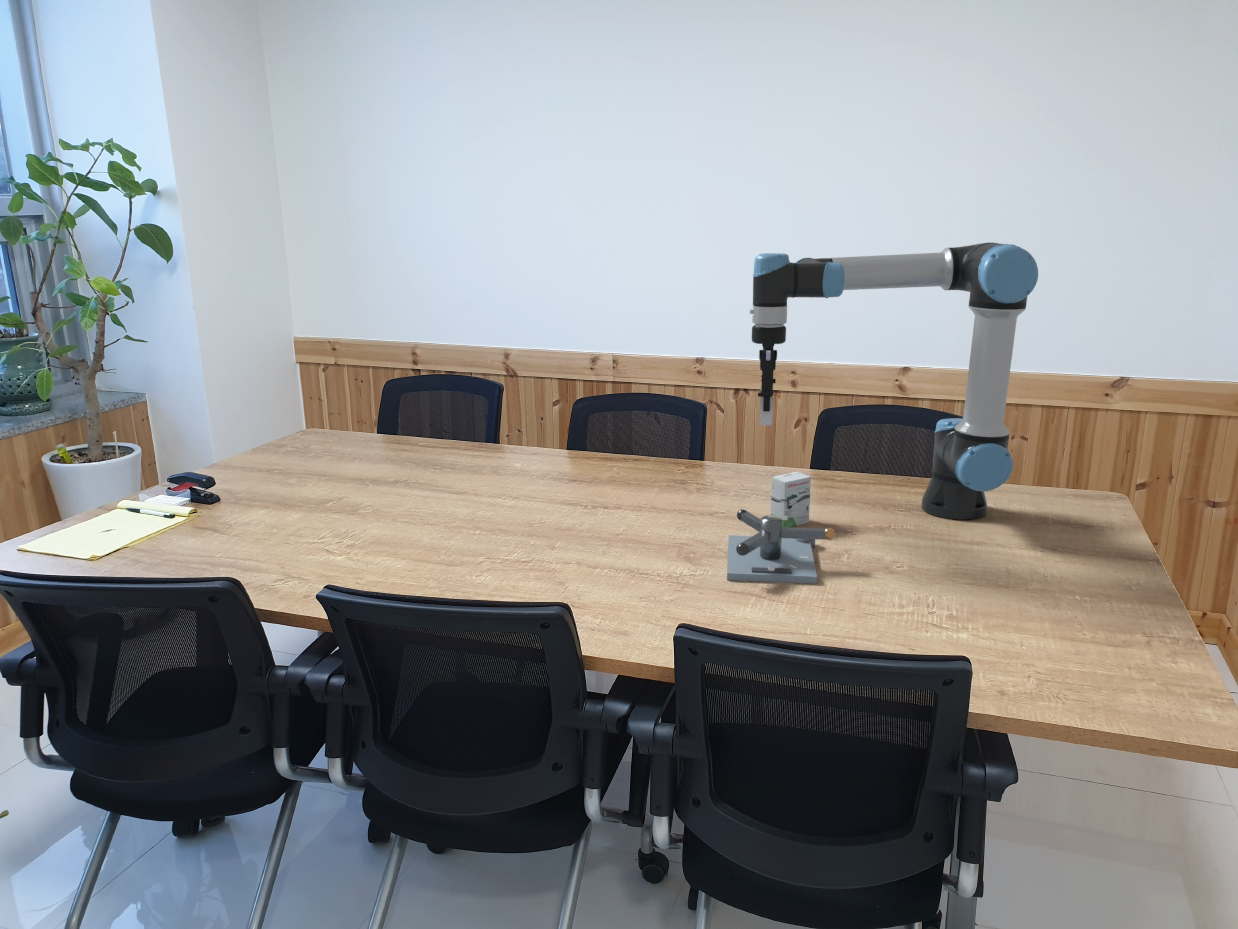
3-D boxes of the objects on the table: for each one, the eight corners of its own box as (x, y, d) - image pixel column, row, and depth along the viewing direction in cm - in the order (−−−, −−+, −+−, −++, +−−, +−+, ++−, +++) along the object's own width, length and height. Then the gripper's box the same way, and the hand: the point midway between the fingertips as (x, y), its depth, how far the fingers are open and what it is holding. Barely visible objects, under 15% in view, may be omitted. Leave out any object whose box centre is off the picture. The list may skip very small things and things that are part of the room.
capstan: (829, 538, 203) (831, 500, 200) (839, 580, 181) (842, 538, 178) (736, 535, 206) (737, 497, 203) (735, 576, 183) (736, 534, 181)
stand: (814, 542, 205) (814, 531, 204) (822, 583, 183) (823, 572, 182) (728, 539, 208) (728, 528, 207) (726, 580, 186) (727, 568, 185)
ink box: (783, 529, 213) (785, 481, 210) (769, 524, 217) (770, 476, 214) (810, 522, 218) (812, 475, 215) (795, 517, 222) (797, 470, 219)
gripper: (753, 317, 214) (750, 405, 220) (750, 332, 190) (748, 430, 196) (785, 317, 213) (781, 406, 219) (787, 332, 189) (783, 431, 195)
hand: (765, 418), depth 208 cm, fingers open, 13 cm apart
